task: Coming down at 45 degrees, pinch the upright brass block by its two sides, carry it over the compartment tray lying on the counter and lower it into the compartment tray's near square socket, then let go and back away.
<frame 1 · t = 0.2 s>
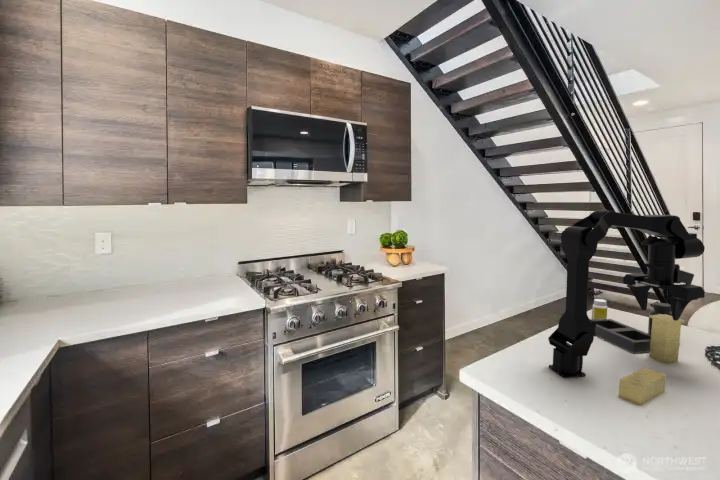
hand: (659, 314, 101), 14 cm above the counter, tool pointing down, fingers open, 9 cm apart
brass block: (663, 359, 105), on the counter
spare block: (641, 394, 87), on the counter
supplement bottle: (660, 340, 120), on the counter
compartment tray: (620, 339, 120), on the counter
supplement bottle 2: (598, 322, 138), on the counter
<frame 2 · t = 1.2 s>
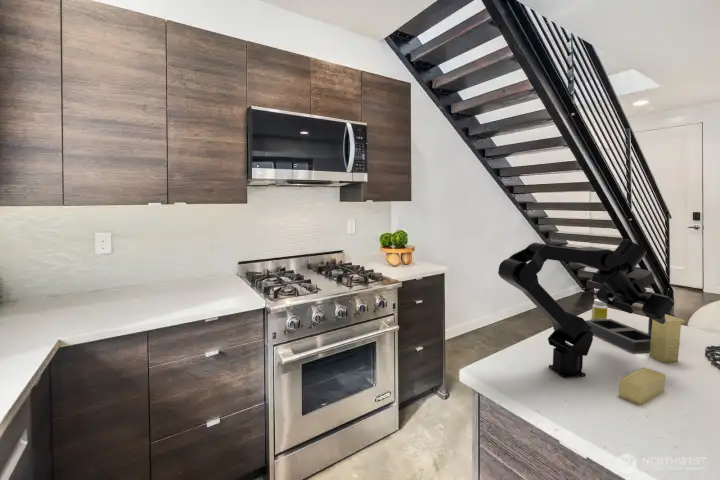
hand: (647, 317, 103), 13 cm above the counter, tool tilted 45°, fingers open, 9 cm apart
nothing on the counter moved.
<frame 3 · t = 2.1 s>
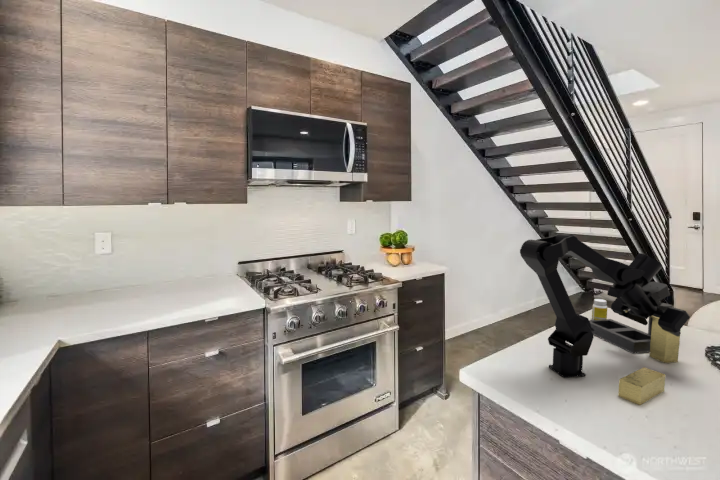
hand: (662, 329, 104), 9 cm above the counter, tool tilted 45°, fingers open, 9 cm apart
nothing on the counter moved.
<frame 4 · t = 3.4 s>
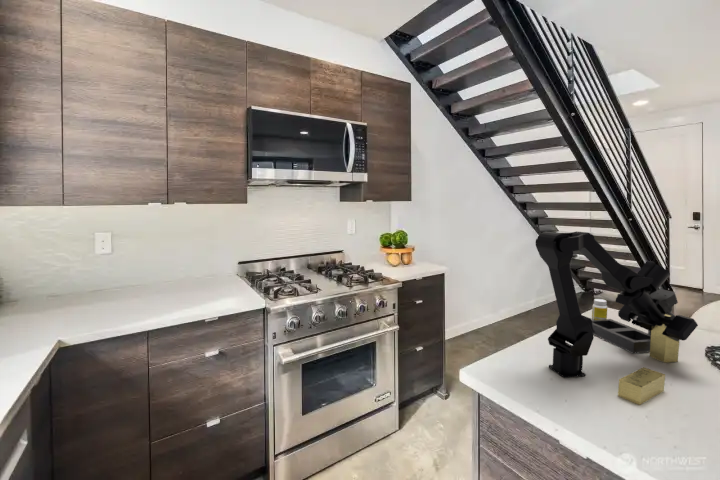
hand: (669, 336, 105), 7 cm above the counter, tool tilted 45°, fingers closed on brass block, 5 cm apart
brass block: (663, 358, 105), on the counter, touching gripper
everything else where it was.
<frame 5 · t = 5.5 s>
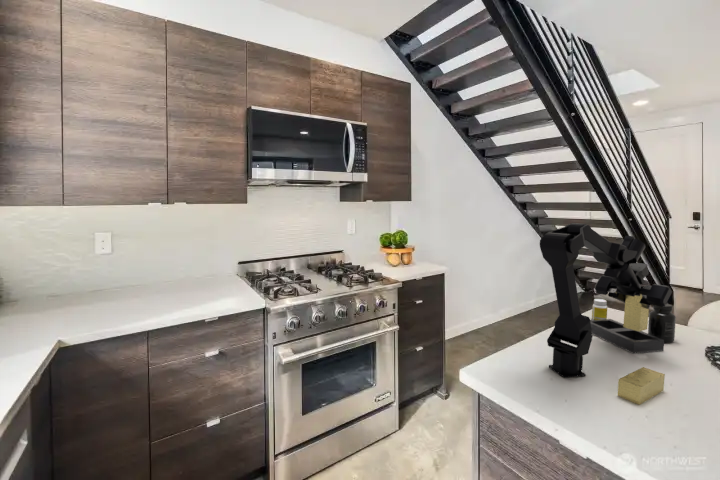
hand: (639, 305, 114), 13 cm above the counter, tool tilted 45°, fingers closed on brass block, 5 cm apart
brass block: (635, 328, 114), point 6 cm above the counter, touching gripper
everything else where it was.
when the fingers open (8 cm above the counter, at t = 6.8 s): brass block stays where it is, resting on compartment tray.
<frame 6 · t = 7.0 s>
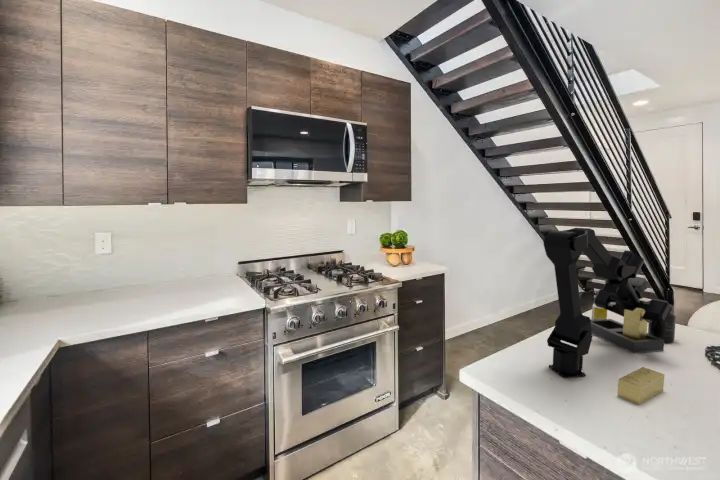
hand: (638, 319, 115), 9 cm above the counter, tool tilted 45°, fingers open, 7 cm apart
brass block: (633, 344, 115), point 1 cm above the counter, touching compartment tray
everything else where it was.
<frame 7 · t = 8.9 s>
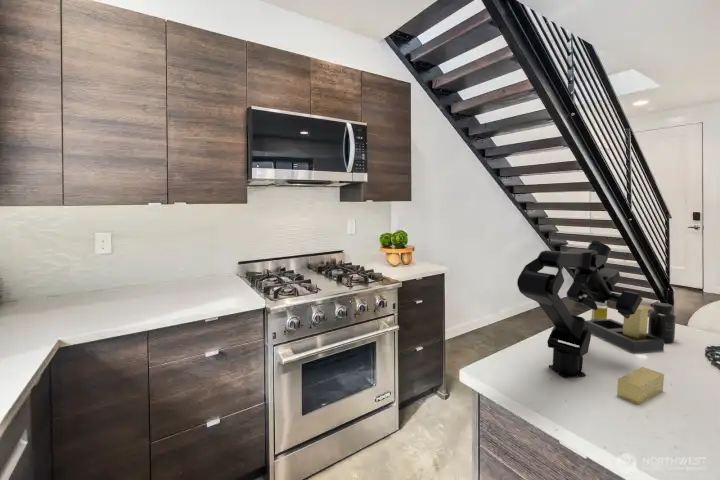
hand: (611, 313, 110), 12 cm above the counter, tool tilted 45°, fingers open, 9 cm apart
nothing on the counter moved.
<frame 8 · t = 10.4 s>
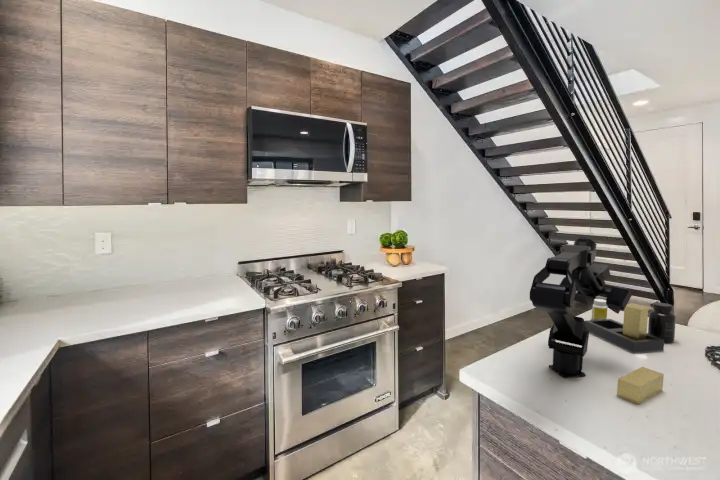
hand: (602, 308, 110), 14 cm above the counter, tool tilted 45°, fingers open, 9 cm apart
nothing on the counter moved.
at the end: brass block 0.2 cm from the target spot on the compartment tray, point 0.5 cm above the compartment tray's base; brass block tilted 0°; the gripper is holding nothing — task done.
